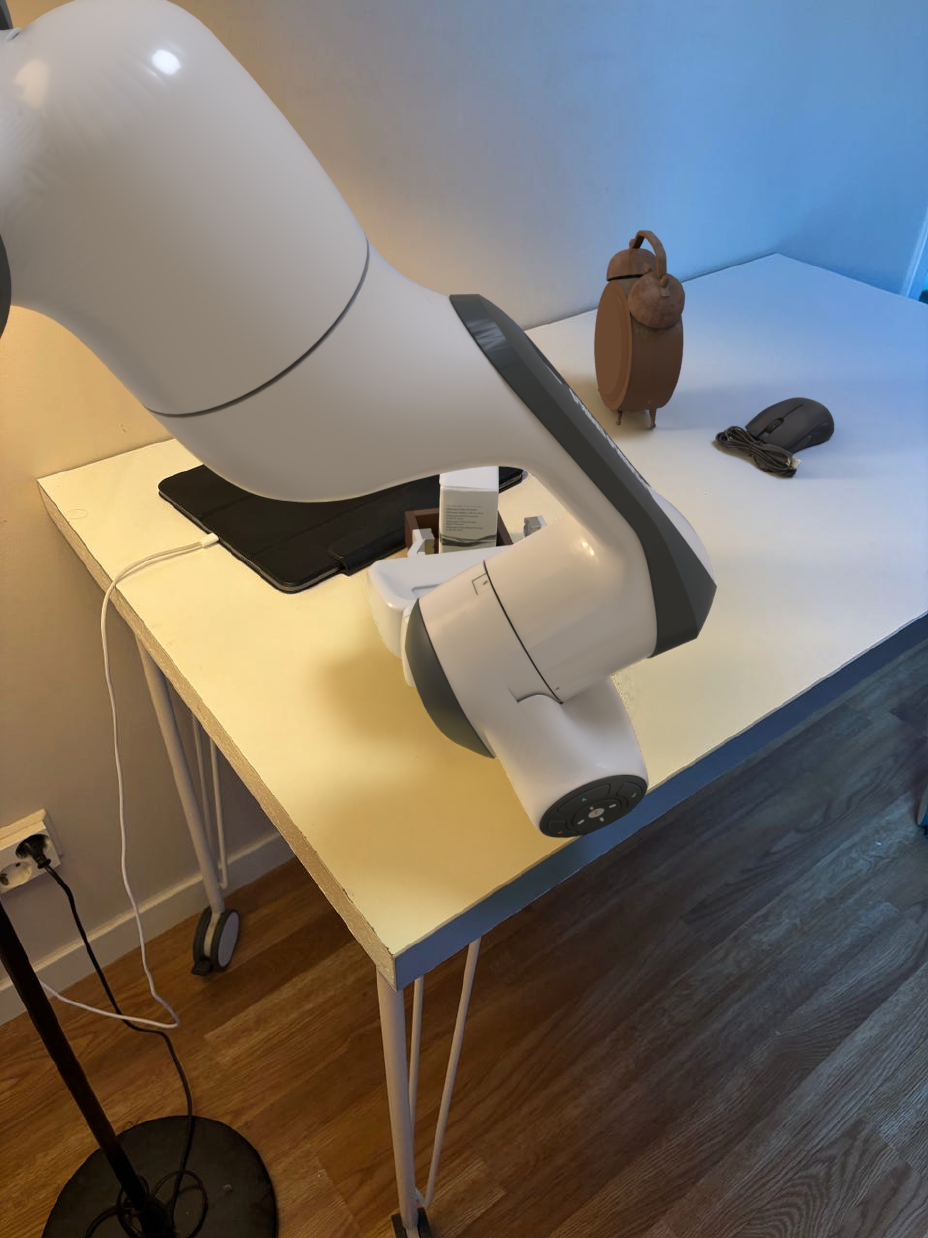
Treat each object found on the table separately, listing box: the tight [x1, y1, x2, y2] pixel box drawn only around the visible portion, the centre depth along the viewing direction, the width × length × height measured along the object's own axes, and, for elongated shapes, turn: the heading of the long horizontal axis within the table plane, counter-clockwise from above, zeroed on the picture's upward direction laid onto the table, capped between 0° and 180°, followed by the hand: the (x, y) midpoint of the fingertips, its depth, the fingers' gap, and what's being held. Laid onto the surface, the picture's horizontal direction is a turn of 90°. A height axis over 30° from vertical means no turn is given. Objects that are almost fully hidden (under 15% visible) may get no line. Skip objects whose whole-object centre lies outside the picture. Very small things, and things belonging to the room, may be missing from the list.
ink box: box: [438, 466, 500, 553], centre depth 82 cm, size 8×5×12 cm, turn 179°
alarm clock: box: [593, 229, 686, 429], centre depth 105 cm, size 14×7×20 cm, turn 9°
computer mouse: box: [715, 396, 835, 477], centre depth 106 cm, size 10×15×4 cm
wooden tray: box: [404, 507, 514, 554], centre depth 85 cm, size 9×13×4 cm
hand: (477, 529), depth 79 cm, fingers open, 8 cm apart
